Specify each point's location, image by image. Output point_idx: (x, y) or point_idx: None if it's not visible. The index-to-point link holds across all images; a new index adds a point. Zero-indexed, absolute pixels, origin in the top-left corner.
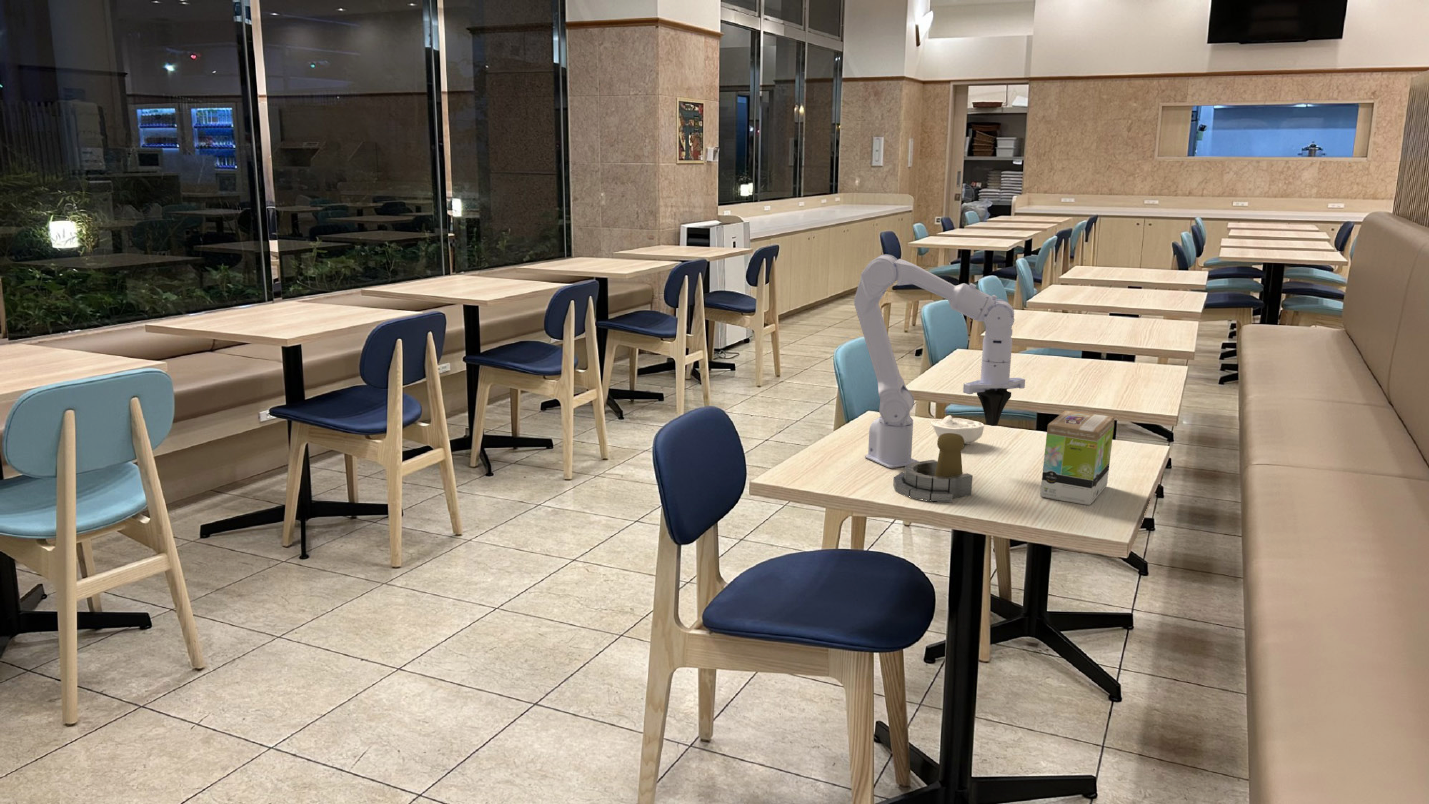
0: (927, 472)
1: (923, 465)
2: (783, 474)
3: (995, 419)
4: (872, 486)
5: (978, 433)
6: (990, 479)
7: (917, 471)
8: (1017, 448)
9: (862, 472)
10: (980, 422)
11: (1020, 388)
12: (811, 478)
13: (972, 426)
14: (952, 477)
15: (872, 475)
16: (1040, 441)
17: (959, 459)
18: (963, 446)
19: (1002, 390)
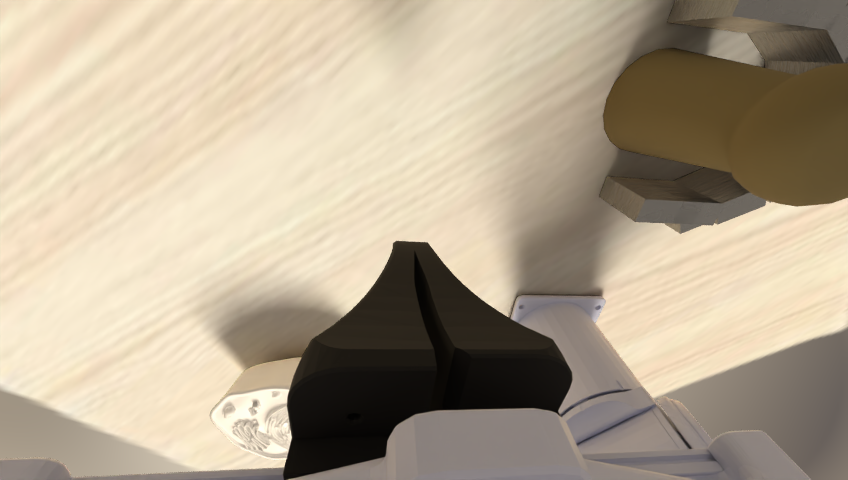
0: (660, 188)
1: (693, 200)
2: (772, 343)
3: (422, 255)
4: (758, 215)
5: (258, 374)
6: (469, 101)
7: (700, 194)
8: (154, 300)
9: (665, 300)
10: (213, 420)
11: (57, 460)
12: (770, 309)
13: (274, 397)
14: (827, 3)
15: (673, 277)
16: (31, 323)
17: (763, 70)
18: (817, 71)
19: (356, 448)
